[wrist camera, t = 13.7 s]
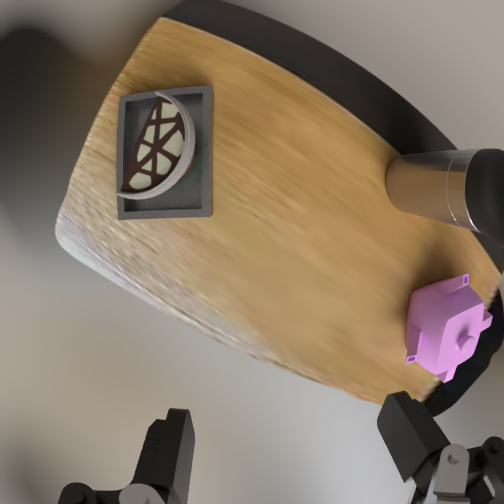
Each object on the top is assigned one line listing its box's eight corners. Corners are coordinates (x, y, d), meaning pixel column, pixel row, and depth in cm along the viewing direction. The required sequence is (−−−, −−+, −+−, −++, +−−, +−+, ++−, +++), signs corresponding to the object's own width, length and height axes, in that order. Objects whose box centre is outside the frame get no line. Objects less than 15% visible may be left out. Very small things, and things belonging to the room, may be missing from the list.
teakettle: (424, 361, 46) (453, 395, 34) (378, 333, 43) (411, 374, 31) (470, 295, 43) (508, 319, 31) (433, 254, 40) (479, 276, 28)
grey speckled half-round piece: (184, 208, 36) (164, 218, 26) (144, 193, 35) (113, 197, 25) (219, 123, 33) (211, 102, 23) (178, 109, 32) (157, 86, 23)
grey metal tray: (213, 93, 33) (211, 85, 29) (212, 213, 37) (210, 216, 34) (129, 102, 32) (119, 96, 29) (128, 216, 36) (118, 220, 33)
